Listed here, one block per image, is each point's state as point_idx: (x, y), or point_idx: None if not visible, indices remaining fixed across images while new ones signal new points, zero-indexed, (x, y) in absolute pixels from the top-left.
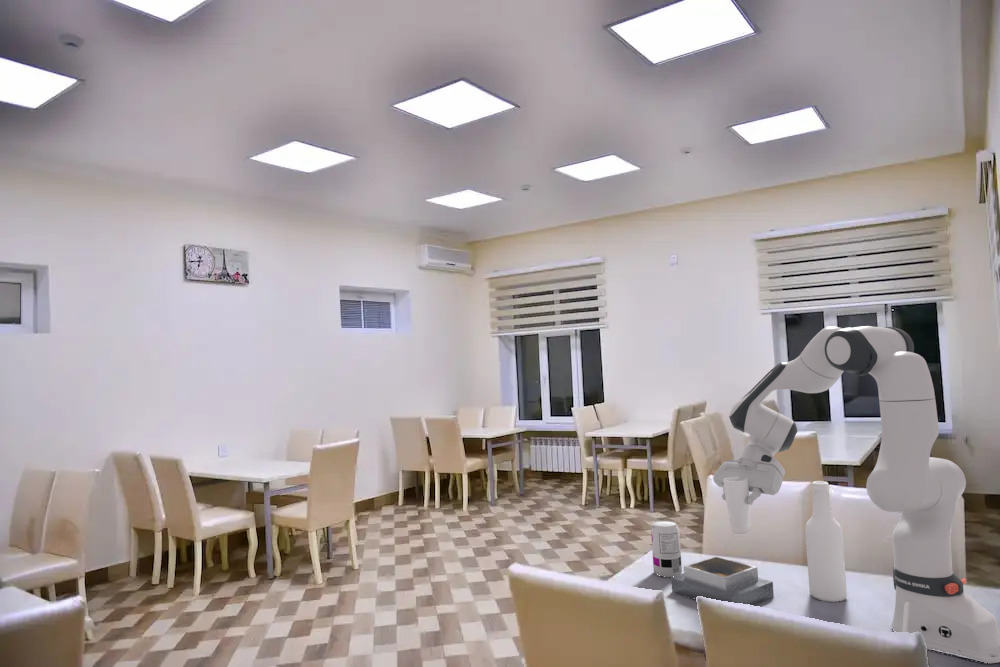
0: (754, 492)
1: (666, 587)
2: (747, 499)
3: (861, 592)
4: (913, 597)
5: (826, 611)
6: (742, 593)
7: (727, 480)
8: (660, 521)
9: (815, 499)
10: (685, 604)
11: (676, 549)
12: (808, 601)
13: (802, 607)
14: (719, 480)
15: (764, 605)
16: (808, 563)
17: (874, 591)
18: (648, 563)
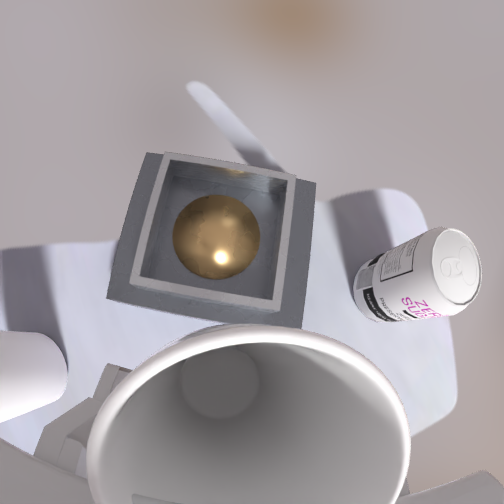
0: (61, 424)
1: (331, 214)
2: (119, 376)
3: (17, 419)
4: None
5: (24, 284)
6: (136, 183)
7: (380, 480)
8: (478, 286)
9: None
10: (247, 156)
11: (385, 273)
12: (58, 318)
13: (57, 278)
14: (455, 486)
15: (116, 242)
16: (24, 351)
17: (8, 433)
18: (436, 320)
